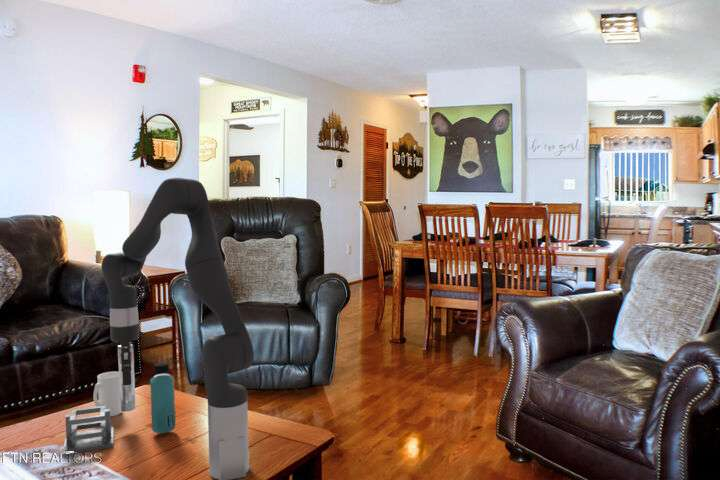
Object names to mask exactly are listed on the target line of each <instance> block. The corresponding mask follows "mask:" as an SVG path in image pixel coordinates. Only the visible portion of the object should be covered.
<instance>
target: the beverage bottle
mask: <svg viewBox="0 0 720 480" xmlns="http://www.w3.org/2000/svg"><path fill="white" fill-rule="evenodd" d="M169 371H170V365H169V363H168V362H163V361H162V362H157V363H155V364H153V373H155V375H154V376H153V377H151V379H150V380H149V384H150V407H151V408H150V413H151V414H150V415H151V429H152V432H153V433H157V434H164V433H165V434H166V433H169V432H172V431H174V430H175V429H176V421H177V419H176V416H177V414H176V408H175V407H176V405H175V400H176V399H175V398H176V397H175V385H174V376H172V375H171V374H170V373H168V372H169Z"/></svg>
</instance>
